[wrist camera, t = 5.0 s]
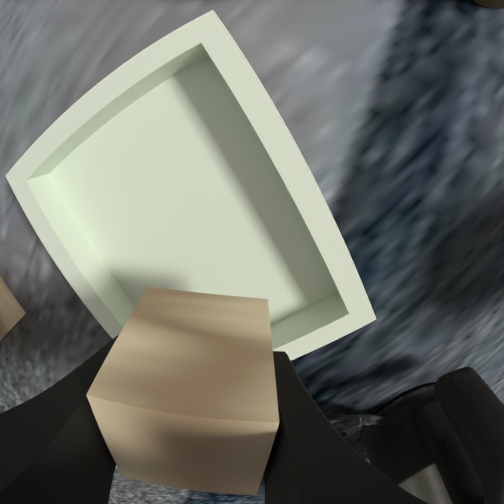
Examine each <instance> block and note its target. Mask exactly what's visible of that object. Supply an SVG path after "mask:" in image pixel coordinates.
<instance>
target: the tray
mask: <svg viewBox="0 0 504 504" xmlns="http://www.w3.org/2000/svg"><path fill="white" fill-rule="evenodd" d="M6 178H7V180H8V182H9V184H10V186H11V188H12V190H13V192H14V194H15V196H16V198H17V200H18V201H19V203H20V205H21V207H22V209H23V211H24V212H25V214H26V216H27V218H28V220H29V221H30V223H31V225H32V226H33V228H34V230H35V232H36V233H37V235H38V237H39V238H40V240H41V241H42V243H43V245H44V246H45V248H46V249H47V251H48V253H49V254H50V256H51V257H52V259H53V260H54V262H55V263H56V265H57V266H58V268H59V269H60V271H61V272H62V274H63V275H64V277H65V278H66V279H67V281H68V282H69V284H70V285H71V286H72V288H73V289H74V291H75V292H76V293H77V295H78V296H79V297H80V299H81V300H82V301H83V303H84V304H85V305H86V307H87V308H88V309H89V311H90V312H91V313H92V314H93V316H94V317H95V318H96V319H97V321H98V322H99V323H100V324H101V326H102V327H103V328H104V329H105V331H106V332H107V333H108V334H109V335H110V337H111V338H112V339H113V338H115V337H116V336H117V335H119V334H120V332H121V331H122V329H123V327H124V325H125V324H126V322H127V320H128V319H129V317H130V315H131V314H132V312H133V310H134V309H135V307H136V305H137V304H138V302H139V300H140V299H141V297H142V295H143V294H144V292H145V290H146V289H147V287H155V288H163V289H172V290H180V291H189V292H199V293H208V294H218V295H229V296H240V297H251V298H263V299H268V307H269V317H270V327H271V337H272V348H273V351H284V352H286V353H287V355H288V357H289V359H290V361H291V360H293V359H295V358H298V357H300V356H302V355H304V354H307V353H309V352H311V351H313V350H315V349H318V348H320V347H322V346H324V345H326V344H328V343H330V342H333V341H335V340H337V339H339V338H341V337H343V336H345V335H347V334H349V333H351V332H353V331H355V330H357V329H359V328H361V327H363V326H365V325H367V324H368V323H370V322H372V321H374V320H376V317H375V315H374V312H373V309H372V307H371V304H370V302H369V299H368V297H367V294H366V292H365V289H364V287H363V284H362V282H361V279H360V277H359V275H358V272H357V270H356V267H355V265H354V263H353V260H352V258H351V256H350V254H349V251H348V249H347V247H346V244H345V242H344V240H343V238H342V236H341V233H340V231H339V229H338V227H337V225H336V222H335V220H334V218H333V216H332V214H331V212H330V210H329V208H328V206H327V203H326V201H325V199H324V197H323V195H322V193H321V191H320V189H319V187H318V185H317V183H316V181H315V179H314V177H313V175H312V173H311V171H310V169H309V167H308V165H307V164H306V162H305V160H304V158H303V156H302V154H301V152H300V150H299V148H298V146H297V145H296V143H295V141H294V139H293V137H292V135H291V134H290V132H289V130H288V128H287V126H286V125H285V123H284V121H283V119H282V118H281V116H280V114H279V112H278V111H277V109H276V107H275V105H274V104H273V102H272V100H271V98H270V97H269V95H268V93H267V92H266V90H265V88H264V87H263V85H262V83H261V82H260V80H259V79H258V77H257V75H256V74H255V72H254V70H253V69H252V67H251V66H250V64H249V62H248V61H247V59H246V58H245V56H244V55H243V53H242V52H241V50H240V48H239V47H238V45H237V44H236V42H235V41H234V39H233V38H232V36H231V35H230V33H229V32H228V30H227V29H226V28H225V26H224V25H223V23H222V22H221V20H220V19H219V17H218V16H217V15H216V13H215V12H214V10H212V11H210V12H208V13H206V14H204V15H202V16H200V17H198V18H196V19H194V20H193V21H191V22H189V23H187V24H185V25H183V26H182V27H180V28H178V29H176V30H175V31H173V32H171V33H170V34H168V35H166V36H165V37H163V38H161V39H160V40H158V41H157V42H155V43H153V44H152V45H150V46H149V47H147V48H146V49H144V50H143V51H141V52H140V53H138V54H137V55H135V56H134V57H133V58H131V59H130V60H128V61H127V62H125V63H124V64H123V65H121V66H120V67H119V68H117V69H116V70H115V71H113V72H112V73H111V74H109V75H108V76H107V77H105V78H104V79H103V80H102V81H100V82H99V83H98V84H97V85H95V86H94V87H93V88H92V89H91V90H89V91H88V92H87V93H86V94H85V95H83V96H82V97H81V98H80V99H79V100H78V101H77V102H75V103H74V104H73V105H72V106H71V107H70V108H69V109H68V110H67V111H66V112H64V113H63V114H62V115H61V116H60V117H59V118H58V119H57V120H56V121H55V122H54V123H53V124H52V125H51V126H50V127H49V128H48V129H47V130H46V131H45V132H44V133H43V134H42V135H41V136H40V137H39V138H38V139H37V140H36V141H35V142H34V144H33V145H32V146H31V147H30V148H29V149H28V150H27V151H26V152H25V153H24V155H23V156H22V157H21V158H20V159H19V160H18V162H17V163H16V164H15V165H14V166H13V167H12V169H11V170H10V171H9V172H8V174H7V175H6Z"/></svg>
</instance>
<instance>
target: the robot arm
mask: <svg viewBox="0 0 504 504" xmlns="http://www.w3.org/2000/svg"><path fill="white" fill-rule="evenodd" d="M118 336H119V335H117V336H116V337H115V338H113V339H112V340H111V341H110V342H109V343H107V344H106V345H105V346H104V347H102V348H101V349H100V350H99V351H98V352H96V353H95V354H94V355H93V356H91V357H90V358H89V359H88V360H86V361H85V362H84V363H83V364H81V365H80V366H79V367H78V368H76V369H75V370H74V371H72V372H71V373H70V374H68V375H67V376H65V377H64V378H63V379H61V380H60V381H58V382H57V383H56V384H54V385H53V386H51V387H50V388H48V389H47V390H45V391H43V392H42V393H40V394H39V395H37V396H35V397H33V398H32V399H30V400H28V401H26V402H24V403H22V404H20V405H18V406H16V407H14V408H12V409H9V410H7V411H5V412H3V413H1V414H0V504H108V501H109V495H110V489H111V484H112V480H113V475H114V470H115V467H116V463H115V461H114V459H113V457H112V455H111V453H110V451H109V448H108V446H107V444H106V442H105V440H104V437H103V435H102V433H101V431H100V428H99V426H98V423H97V421H96V419H95V416H94V414H93V411H92V408H91V406H90V403H89V401H88V398H87V393H88V391H89V389H90V387H91V385H92V383H93V381H94V379H95V377H96V376H97V374H98V372H99V370H100V368H101V366H102V364H103V363H104V361H105V359H106V357H107V355H108V354H109V352H110V350H111V348H112V346H113V345H114V343H115V341H116V339H117V338H118ZM273 359H274V369H275V380H276V391H277V402H278V413H279V425H278V429H277V432H276V435H275V439H274V442H273V445H272V449H271V452H270V455H269V458H268V461H267V465H266V468H265V471H264V481H265V504H429V503H427V502H425V501H423V500H421V499H419V498H418V497H416V496H414V495H412V494H410V493H409V492H407V491H406V490H404V489H403V488H401V487H400V486H398V485H397V484H395V483H394V482H392V481H391V480H390V479H388V478H387V477H386V476H385V475H383V474H382V473H381V472H380V471H378V470H377V469H376V468H375V467H373V466H372V465H371V464H370V463H369V462H367V461H366V460H365V459H364V458H363V457H362V456H361V455H360V454H359V453H358V452H357V451H356V450H355V449H354V448H353V447H352V446H351V445H350V444H349V443H348V442H347V441H346V440H345V439H344V438H343V437H342V436H341V435H340V433H339V432H338V431H337V430H336V429H335V428H334V426H333V425H332V424H331V423H330V421H329V420H328V419H327V418H326V416H325V415H324V414H323V412H322V411H321V410H320V408H319V407H318V405H317V404H316V402H315V401H314V399H313V398H312V396H311V395H310V393H309V392H308V390H307V389H306V387H305V386H304V384H303V382H302V381H301V379H300V377H299V376H298V374H297V372H296V370H295V368H294V366H293V365H292V363H291V361H290V359H289V357H288V355H287V353H286V352H284V351H273Z"/></svg>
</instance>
